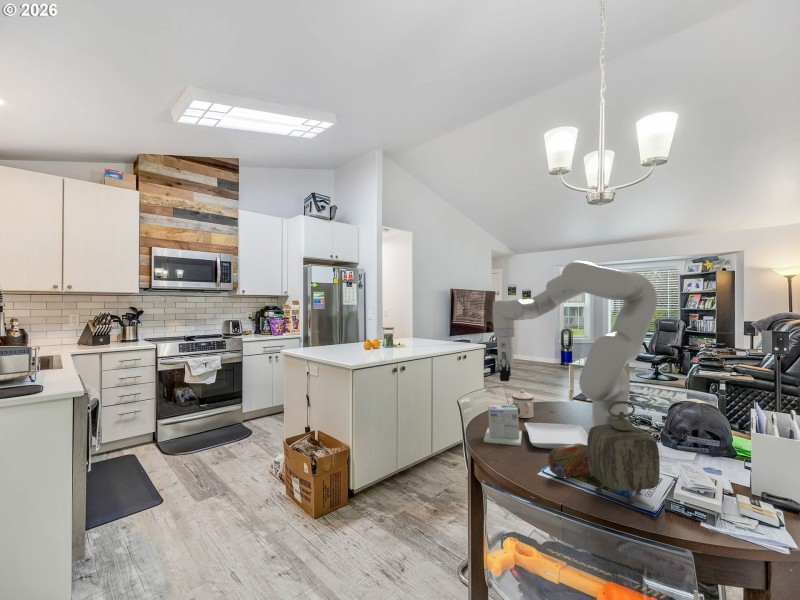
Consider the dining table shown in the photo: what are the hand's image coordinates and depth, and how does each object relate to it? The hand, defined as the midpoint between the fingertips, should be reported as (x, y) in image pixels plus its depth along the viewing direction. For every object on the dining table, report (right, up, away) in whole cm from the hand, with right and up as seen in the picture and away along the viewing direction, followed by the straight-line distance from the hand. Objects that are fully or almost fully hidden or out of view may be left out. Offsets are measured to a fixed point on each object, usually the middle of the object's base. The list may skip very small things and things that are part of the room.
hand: (505, 378), depth 142 cm
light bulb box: (-1, -22, 0) cm, 22 cm away
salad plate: (+18, -23, -4) cm, 29 cm away
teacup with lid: (+15, -22, +24) cm, 36 cm away
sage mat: (-1, -22, 0) cm, 22 cm away
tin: (+11, -22, -31) cm, 39 cm away
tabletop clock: (+18, -22, -45) cm, 53 cm away
